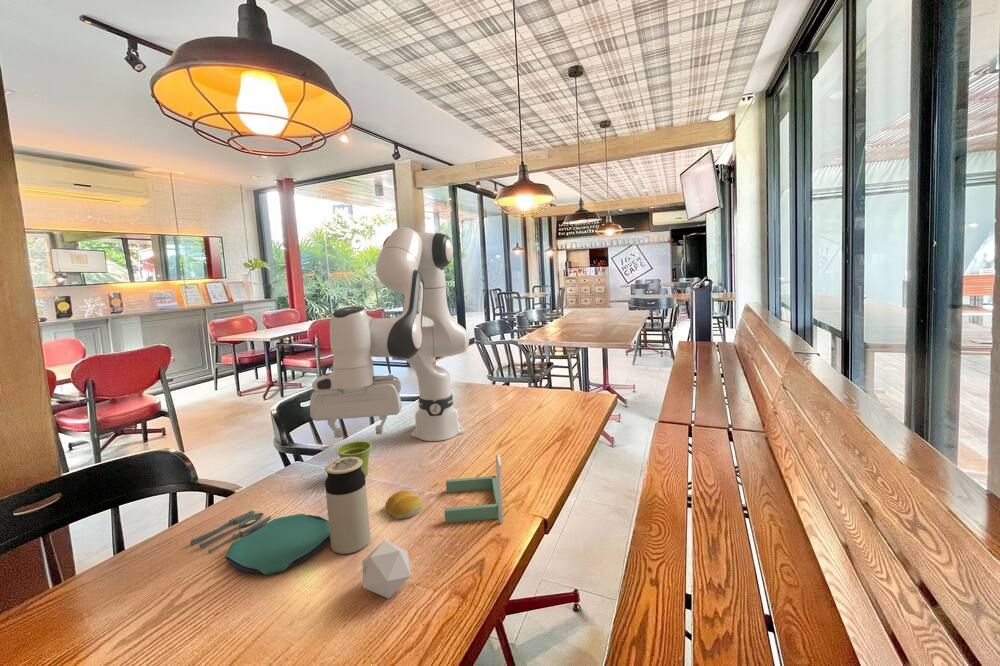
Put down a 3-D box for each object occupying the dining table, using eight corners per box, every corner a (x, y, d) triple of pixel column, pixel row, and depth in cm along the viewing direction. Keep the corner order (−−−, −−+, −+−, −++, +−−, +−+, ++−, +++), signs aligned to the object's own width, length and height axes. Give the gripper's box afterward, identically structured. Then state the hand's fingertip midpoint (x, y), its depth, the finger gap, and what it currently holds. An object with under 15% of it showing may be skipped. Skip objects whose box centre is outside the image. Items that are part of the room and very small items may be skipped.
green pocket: (446, 490, 115) (443, 432, 113) (496, 486, 116) (494, 428, 114) (444, 541, 93) (440, 470, 91) (505, 535, 94) (503, 465, 92)
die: (380, 571, 86) (349, 549, 80) (417, 548, 86) (389, 524, 80) (383, 613, 79) (349, 592, 73) (424, 587, 79) (393, 565, 73)
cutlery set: (272, 592, 81) (270, 580, 80) (179, 552, 94) (178, 542, 94) (352, 533, 98) (351, 524, 98) (264, 506, 112) (263, 498, 111)
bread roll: (398, 524, 101) (397, 508, 100) (381, 509, 107) (380, 494, 107) (429, 510, 106) (428, 495, 105) (411, 497, 113) (410, 482, 112)
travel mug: (377, 535, 96) (371, 457, 94) (354, 558, 89) (347, 474, 86) (347, 530, 99) (340, 454, 96) (323, 551, 91) (314, 470, 89)
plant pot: (380, 471, 128) (378, 443, 127) (357, 486, 120) (355, 456, 118) (356, 466, 132) (353, 439, 131) (332, 480, 124) (329, 451, 122)
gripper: (401, 371, 105) (405, 427, 107) (313, 377, 103) (319, 433, 105) (398, 377, 99) (402, 436, 101) (304, 383, 97) (310, 443, 99)
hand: (359, 435), depth 103 cm, fingers open, 8 cm apart
